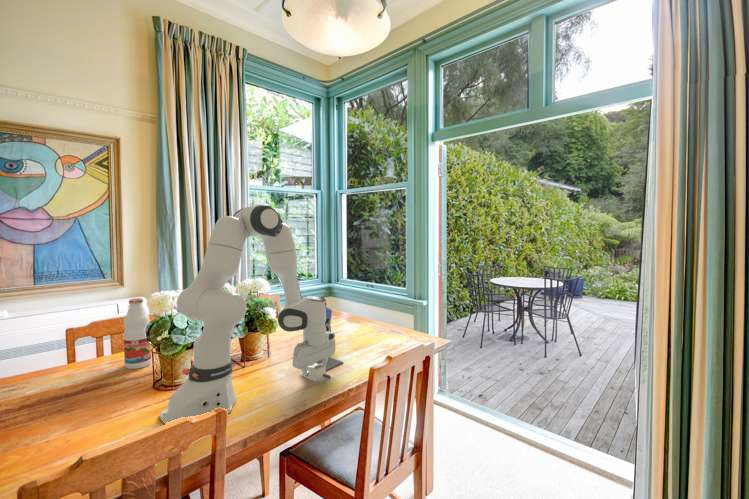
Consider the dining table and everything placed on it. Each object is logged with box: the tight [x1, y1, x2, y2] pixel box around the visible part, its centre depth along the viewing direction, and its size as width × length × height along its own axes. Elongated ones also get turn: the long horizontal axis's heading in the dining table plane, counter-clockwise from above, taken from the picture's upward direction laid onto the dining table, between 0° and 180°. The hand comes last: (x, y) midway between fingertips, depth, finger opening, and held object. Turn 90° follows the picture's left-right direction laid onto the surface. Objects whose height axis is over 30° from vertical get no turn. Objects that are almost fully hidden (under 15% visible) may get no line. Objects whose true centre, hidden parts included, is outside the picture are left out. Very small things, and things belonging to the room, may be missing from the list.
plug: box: [304, 363, 332, 383], centre depth 141 cm, size 15×4×5 cm, turn 54°
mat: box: [315, 356, 344, 372], centre depth 155 cm, size 14×14×1 cm
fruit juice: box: [123, 297, 152, 370], centre depth 150 cm, size 9×9×28 cm
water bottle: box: [319, 296, 333, 332], centre depth 173 cm, size 9×9×25 cm
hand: (314, 371), depth 142 cm, fingers open, 8 cm apart
